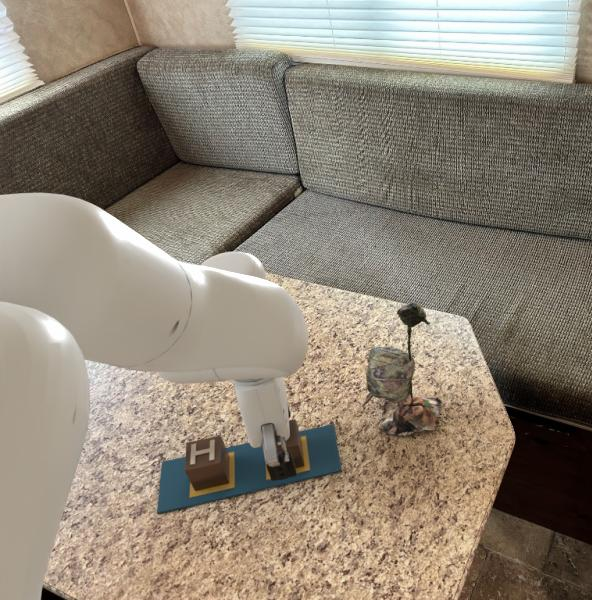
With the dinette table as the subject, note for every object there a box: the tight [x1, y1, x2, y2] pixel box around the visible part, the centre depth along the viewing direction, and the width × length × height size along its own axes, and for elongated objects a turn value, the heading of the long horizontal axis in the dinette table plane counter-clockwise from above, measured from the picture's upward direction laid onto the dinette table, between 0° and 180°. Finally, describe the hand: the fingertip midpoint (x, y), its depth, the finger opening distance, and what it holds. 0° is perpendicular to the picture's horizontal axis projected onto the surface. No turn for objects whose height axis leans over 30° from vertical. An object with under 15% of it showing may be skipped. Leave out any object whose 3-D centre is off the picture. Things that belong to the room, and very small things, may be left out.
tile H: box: [184, 435, 229, 491], centre depth 80 cm, size 4×4×5 cm
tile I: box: [275, 418, 305, 468], centre depth 81 cm, size 4×4×5 cm
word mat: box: [156, 423, 343, 515], centre depth 82 cm, size 8×24×1 cm, turn 102°
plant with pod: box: [361, 301, 443, 437], centre depth 81 cm, size 8×11×20 cm
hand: (281, 446), depth 80 cm, fingers open, 9 cm apart
